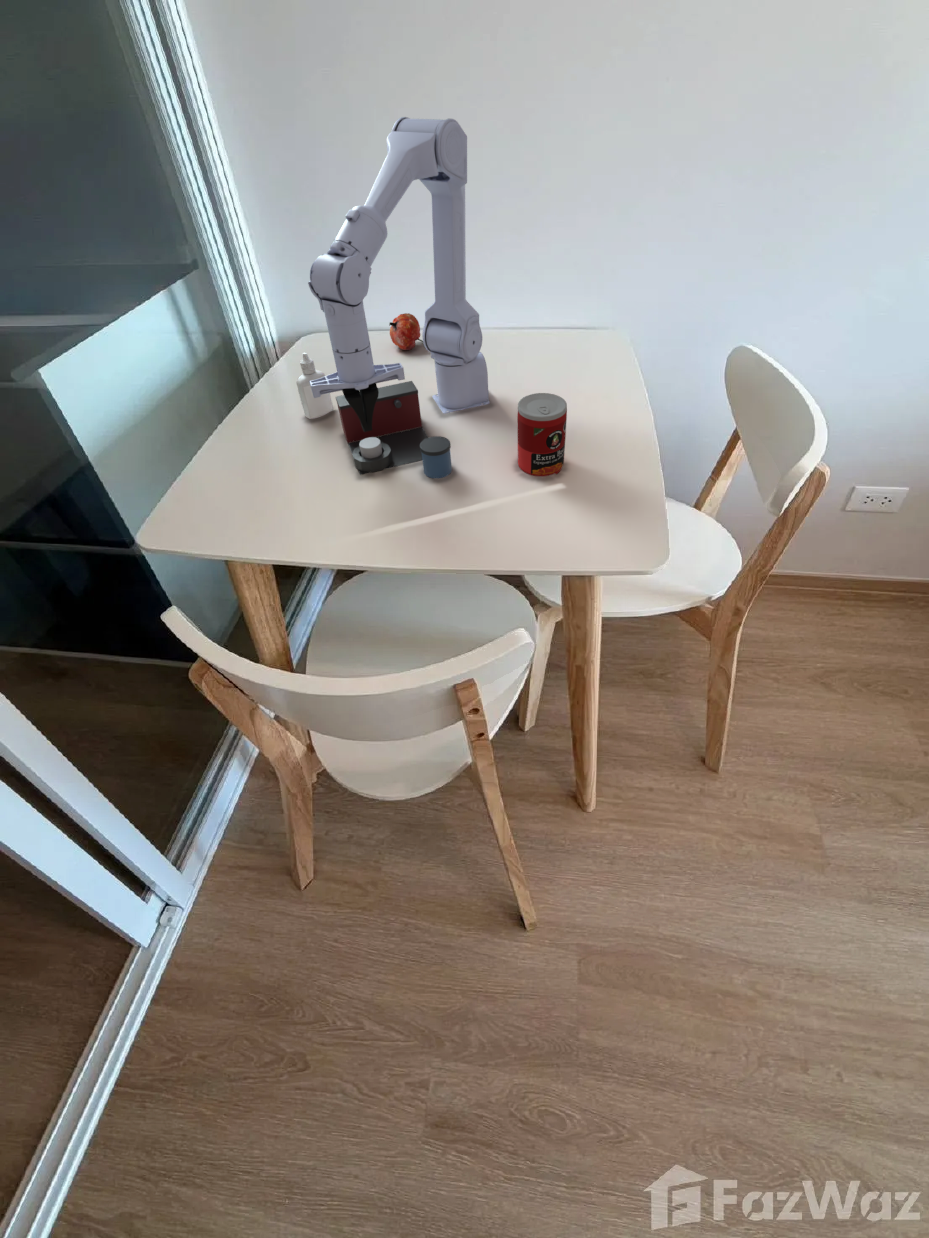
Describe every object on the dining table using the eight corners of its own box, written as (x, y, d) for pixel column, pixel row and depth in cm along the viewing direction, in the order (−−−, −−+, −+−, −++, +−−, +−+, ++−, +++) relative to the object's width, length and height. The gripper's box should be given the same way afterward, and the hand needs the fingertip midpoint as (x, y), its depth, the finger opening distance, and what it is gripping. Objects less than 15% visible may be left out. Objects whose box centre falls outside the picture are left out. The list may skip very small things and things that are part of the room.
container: (447, 462, 106) (445, 433, 102) (456, 477, 103) (454, 448, 99) (419, 469, 106) (416, 440, 102) (428, 484, 102) (424, 455, 98)
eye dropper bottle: (335, 417, 120) (320, 355, 111) (306, 422, 119) (289, 360, 111) (333, 407, 123) (319, 346, 114) (304, 412, 122) (288, 351, 114)
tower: (424, 432, 114) (419, 392, 108) (349, 449, 111) (340, 409, 106) (416, 419, 117) (412, 380, 112) (343, 435, 115) (335, 396, 109)
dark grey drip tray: (440, 460, 107) (438, 446, 105) (359, 478, 105) (356, 465, 103) (422, 429, 115) (421, 416, 113) (347, 446, 112) (344, 433, 110)
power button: (384, 456, 105) (382, 445, 103) (363, 461, 104) (361, 450, 103) (379, 446, 107) (377, 435, 106) (359, 450, 107) (357, 439, 105)
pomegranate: (410, 348, 146) (375, 329, 139) (426, 319, 142) (391, 299, 135) (421, 363, 141) (385, 345, 135) (438, 334, 138) (402, 314, 131)
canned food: (533, 484, 100) (534, 422, 92) (508, 462, 105) (507, 401, 97) (573, 470, 102) (577, 407, 94) (546, 448, 107) (549, 387, 99)
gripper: (306, 365, 89) (327, 449, 98) (404, 346, 91) (415, 430, 101) (300, 347, 93) (320, 429, 103) (393, 329, 96) (404, 411, 106)
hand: (367, 428), depth 102 cm, fingers closed
